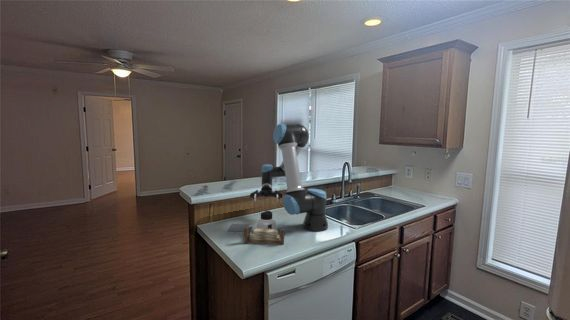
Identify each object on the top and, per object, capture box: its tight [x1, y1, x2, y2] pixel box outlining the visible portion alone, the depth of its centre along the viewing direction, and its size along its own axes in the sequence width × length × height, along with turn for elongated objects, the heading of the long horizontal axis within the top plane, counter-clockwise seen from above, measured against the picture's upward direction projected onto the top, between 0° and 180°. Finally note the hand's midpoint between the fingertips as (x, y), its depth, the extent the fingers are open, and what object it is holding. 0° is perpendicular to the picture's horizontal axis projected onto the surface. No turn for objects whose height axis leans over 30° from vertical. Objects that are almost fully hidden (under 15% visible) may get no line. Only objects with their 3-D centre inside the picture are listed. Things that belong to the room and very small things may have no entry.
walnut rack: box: [243, 226, 285, 246], centre depth 146 cm, size 21×17×8 cm
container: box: [256, 210, 277, 230], centre depth 150 cm, size 8×8×13 cm
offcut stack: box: [249, 227, 280, 241], centre depth 141 cm, size 16×5×4 cm, turn 88°
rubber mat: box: [227, 223, 251, 233], centre depth 158 cm, size 11×11×1 cm
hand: (266, 199), depth 159 cm, fingers open, 13 cm apart
